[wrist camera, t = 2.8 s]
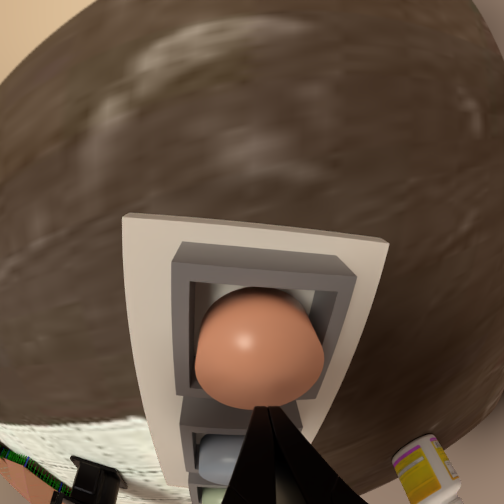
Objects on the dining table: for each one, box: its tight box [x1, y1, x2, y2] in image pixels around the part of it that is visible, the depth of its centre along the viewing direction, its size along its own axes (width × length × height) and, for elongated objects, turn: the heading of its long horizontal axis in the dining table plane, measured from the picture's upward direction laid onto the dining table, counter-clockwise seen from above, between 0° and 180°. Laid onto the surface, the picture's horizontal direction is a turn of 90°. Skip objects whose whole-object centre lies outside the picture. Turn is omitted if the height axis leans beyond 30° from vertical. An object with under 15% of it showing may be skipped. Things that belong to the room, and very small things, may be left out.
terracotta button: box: [195, 287, 324, 410], centre depth 11 cm, size 5×5×2 cm
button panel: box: [122, 213, 389, 504], centre depth 16 cm, size 29×13×4 cm, turn 173°
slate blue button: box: [199, 434, 245, 485], centre depth 14 cm, size 5×5×2 cm
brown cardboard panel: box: [0, 446, 71, 504], centre depth 24 cm, size 23×33×8 cm
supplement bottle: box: [392, 434, 463, 504], centre depth 18 cm, size 7×7×13 cm
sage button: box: [202, 487, 227, 504], centre depth 17 cm, size 5×5×2 cm
